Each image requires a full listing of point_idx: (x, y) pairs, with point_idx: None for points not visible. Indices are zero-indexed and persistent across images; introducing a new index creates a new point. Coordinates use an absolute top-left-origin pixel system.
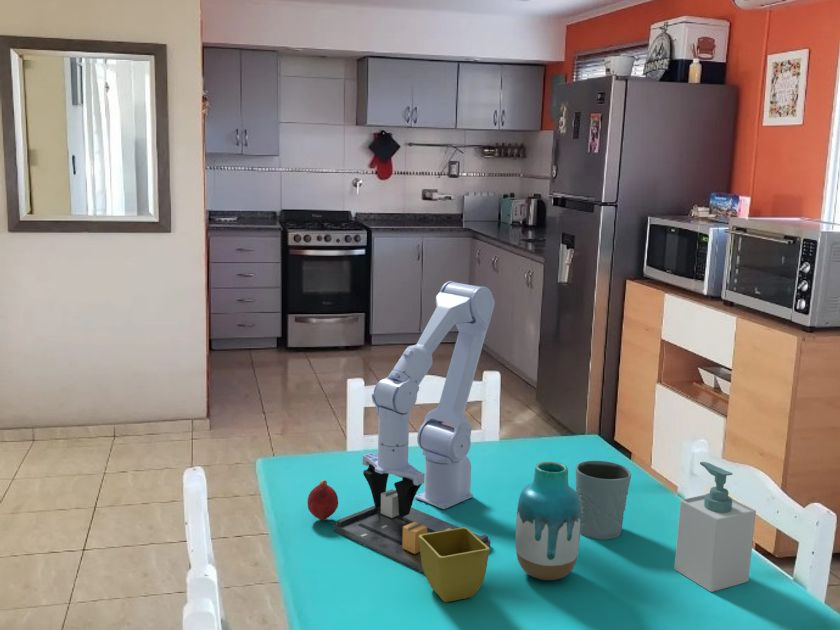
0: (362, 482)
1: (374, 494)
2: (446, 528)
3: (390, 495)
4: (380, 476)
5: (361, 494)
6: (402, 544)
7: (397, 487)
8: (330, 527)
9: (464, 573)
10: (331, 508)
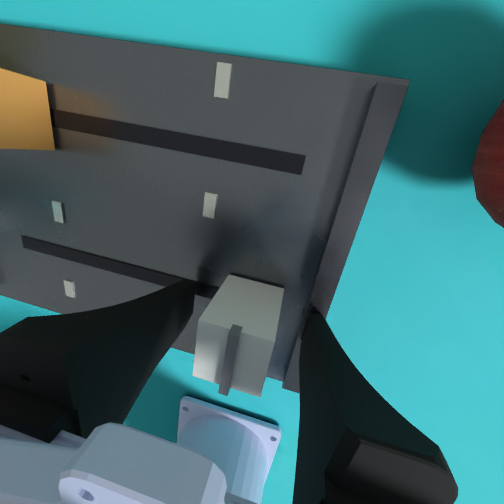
0: (490, 474)
1: (321, 340)
2: (78, 293)
3: (222, 339)
4: (311, 457)
5: (450, 406)
6: (30, 77)
7: (67, 333)
8: (435, 110)
9: None
10: (502, 117)
